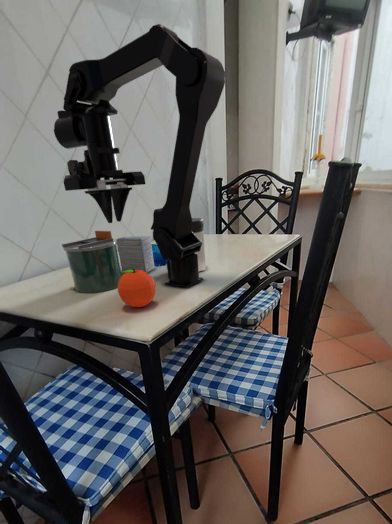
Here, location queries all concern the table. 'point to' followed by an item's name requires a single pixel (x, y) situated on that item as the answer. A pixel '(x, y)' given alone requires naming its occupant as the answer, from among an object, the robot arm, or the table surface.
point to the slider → (99, 236)
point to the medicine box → (135, 253)
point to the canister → (93, 265)
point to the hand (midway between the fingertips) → (114, 222)
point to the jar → (198, 231)
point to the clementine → (136, 288)
